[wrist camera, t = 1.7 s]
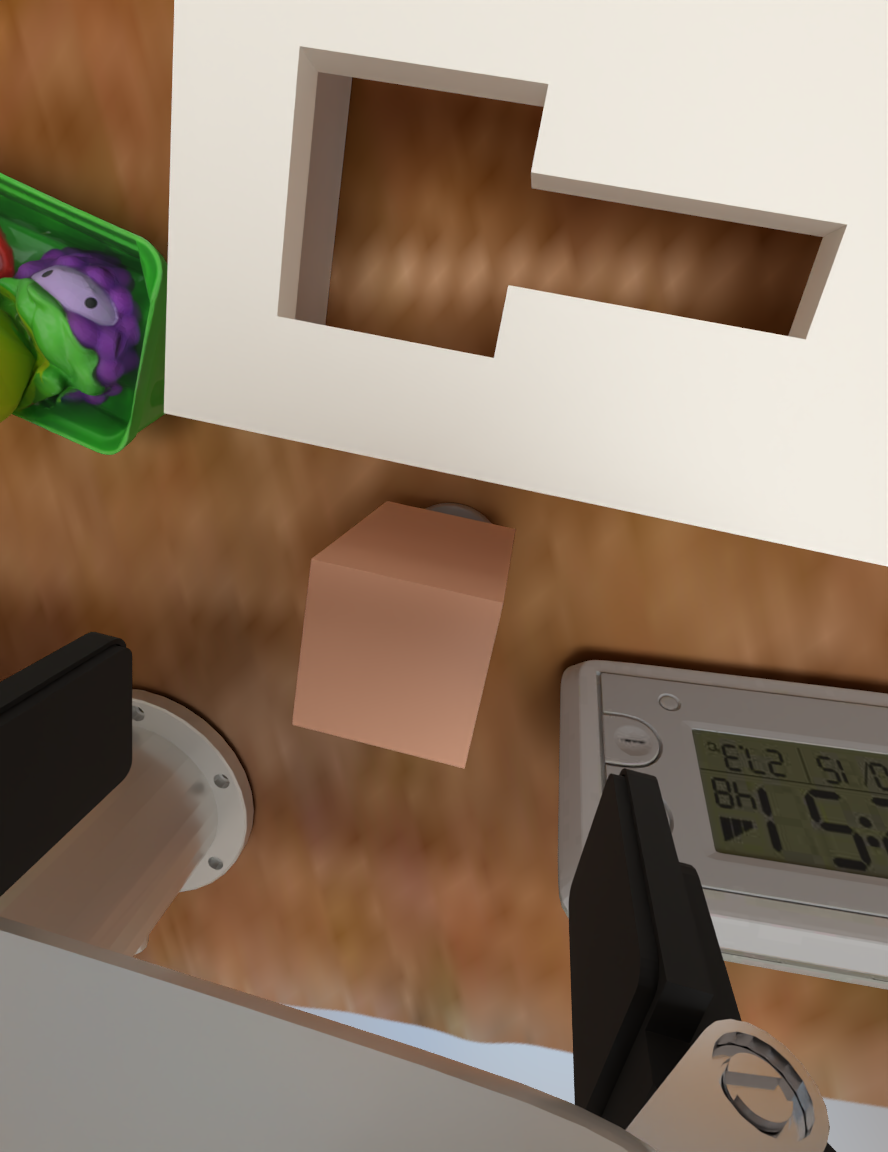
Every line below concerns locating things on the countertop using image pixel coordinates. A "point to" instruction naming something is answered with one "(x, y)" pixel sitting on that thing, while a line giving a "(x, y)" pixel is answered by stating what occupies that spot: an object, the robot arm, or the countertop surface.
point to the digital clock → (747, 803)
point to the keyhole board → (540, 319)
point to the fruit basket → (78, 321)
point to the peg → (403, 629)
